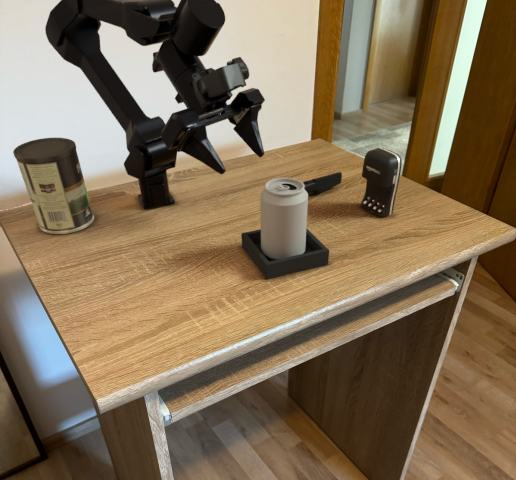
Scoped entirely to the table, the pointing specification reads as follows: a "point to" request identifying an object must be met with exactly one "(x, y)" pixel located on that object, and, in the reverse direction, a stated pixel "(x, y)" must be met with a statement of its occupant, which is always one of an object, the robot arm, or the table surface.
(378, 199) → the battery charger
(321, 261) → the black square open tray
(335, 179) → the electric trimmer
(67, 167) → the coffee can
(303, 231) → the can
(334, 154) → the table surface
